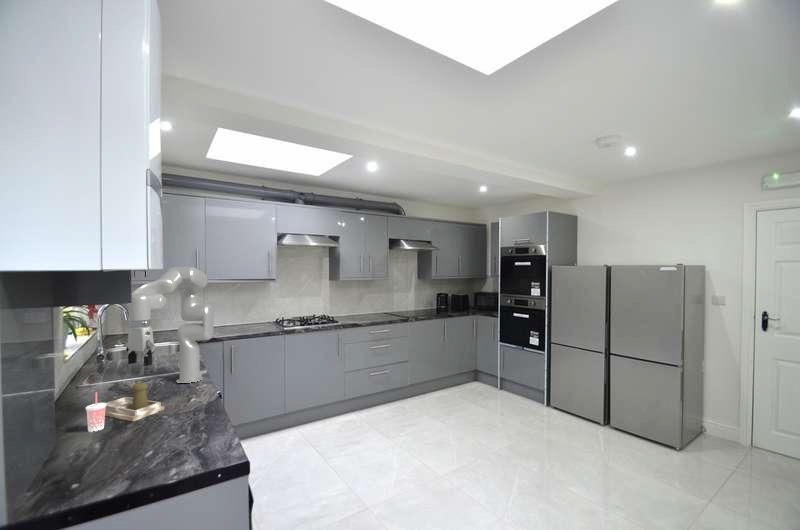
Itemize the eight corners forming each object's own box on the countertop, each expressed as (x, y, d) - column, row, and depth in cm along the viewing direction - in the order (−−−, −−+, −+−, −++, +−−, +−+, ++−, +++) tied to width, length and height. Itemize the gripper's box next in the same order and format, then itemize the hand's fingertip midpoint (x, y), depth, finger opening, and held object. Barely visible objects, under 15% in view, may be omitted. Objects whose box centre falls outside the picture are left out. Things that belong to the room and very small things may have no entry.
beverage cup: (110, 427, 138) (110, 390, 138) (91, 433, 132) (91, 395, 132) (100, 424, 140) (100, 388, 140) (81, 431, 134) (81, 393, 135)
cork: (139, 412, 148) (139, 385, 148) (127, 411, 149) (127, 385, 149) (152, 407, 153) (152, 381, 154) (140, 406, 155) (140, 380, 155)
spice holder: (127, 403, 163) (127, 395, 163) (164, 409, 155) (164, 401, 155) (95, 414, 151) (95, 405, 151) (132, 421, 143) (132, 412, 143)
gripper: (162, 323, 152) (162, 363, 152) (135, 322, 158) (135, 360, 158) (144, 326, 145) (144, 368, 145) (117, 324, 151) (117, 365, 151)
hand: (140, 364), depth 152 cm, fingers open, 9 cm apart
